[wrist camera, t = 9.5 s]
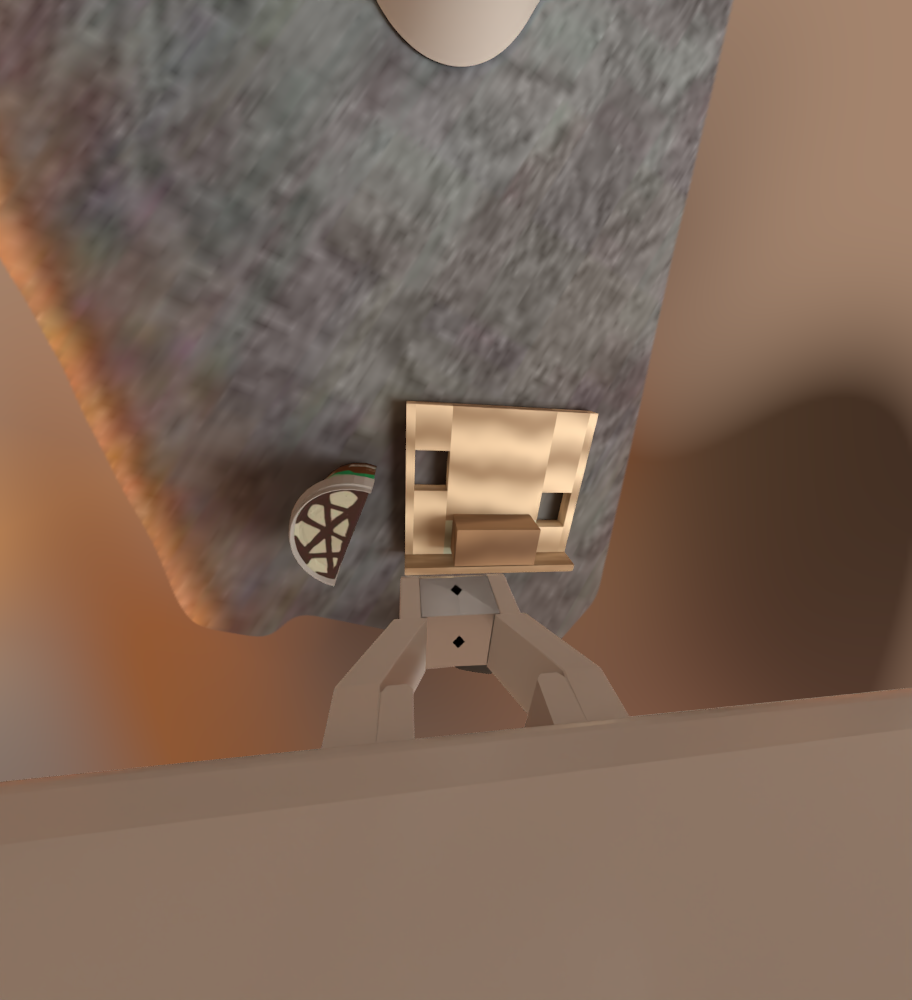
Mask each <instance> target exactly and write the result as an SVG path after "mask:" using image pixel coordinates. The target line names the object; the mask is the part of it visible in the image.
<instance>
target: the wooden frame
mask: <svg viewBox="0 0 912 1000" xmlns="http://www.w3.org/2000/svg"><path fill="white" fill-rule="evenodd" d="M597 418H598V413H595V412H592V411H584V410H566V409H548V408H530V407H511V406H493V405H475V404H457V403H439V402H420V401H407V402H406V509H405V575H432V574H471V573H510V572H549V571H572V570H573V567H574V564H573V563H572V561H571V560H570V559H569V557H568V556H567V555H566V554H565V552H564V551H565V547H566V543H567V539H568V535H569V531H570V527H571V522H572V518H573V514H574V510H575V506H576V502H577V498H578V494H579V490H580V486H581V482H582V478H583V474H584V470H585V466H586V462H587V458H588V454H589V450H590V446H591V442H592V438H593V434H594V430H595V426H596V422H597ZM415 450H437V451H448V459H447V475H446V485H422V484H414V476H415ZM542 492H548V493H563V497H562V501H561V506H560V510H559V515H558V519H557V520H537V515H538V510H539V505H540V500H541V495H542ZM453 514H530V516H531V517H532V518H533V520H534V521H535V523H536V524H537V525H538V527H539V528H540V529H541V532H540V536H539V541H538V546H537V551H536V556H535V560H534V565H493V566H454V562H453V557H452V553H451V535H452V522H453Z"/></svg>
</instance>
